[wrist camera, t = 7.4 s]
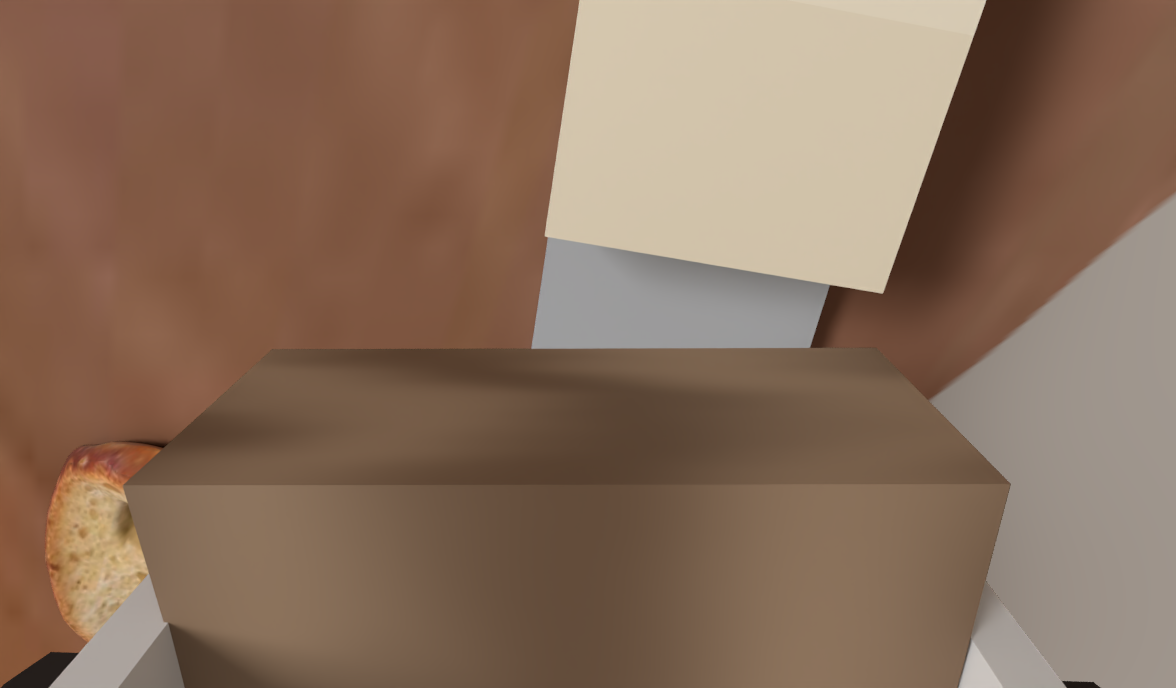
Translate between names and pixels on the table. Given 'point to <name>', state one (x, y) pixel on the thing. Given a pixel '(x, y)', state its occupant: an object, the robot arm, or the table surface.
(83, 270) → the table surface
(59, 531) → the bread slice
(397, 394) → the tan brown block
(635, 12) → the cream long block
